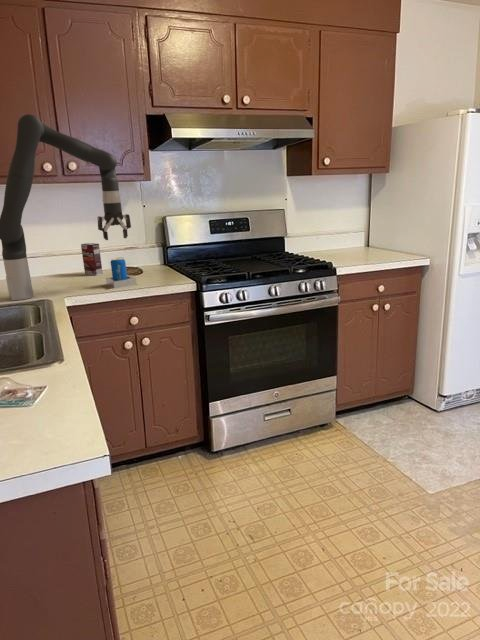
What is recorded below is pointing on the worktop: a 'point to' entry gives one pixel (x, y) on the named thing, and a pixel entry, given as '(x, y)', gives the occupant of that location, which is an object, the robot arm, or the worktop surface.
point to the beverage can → (118, 269)
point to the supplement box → (91, 258)
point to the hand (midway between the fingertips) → (116, 239)
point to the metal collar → (121, 282)
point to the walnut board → (106, 287)
